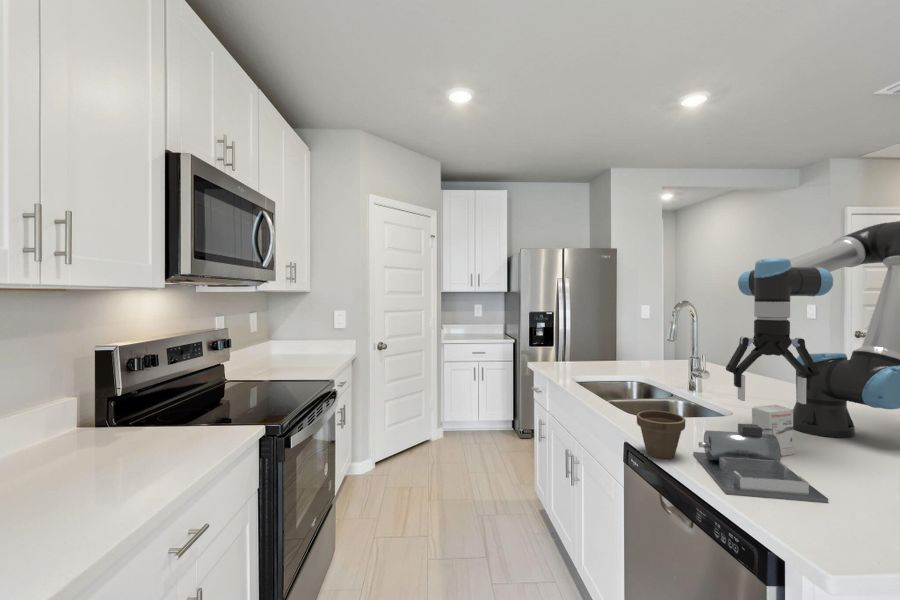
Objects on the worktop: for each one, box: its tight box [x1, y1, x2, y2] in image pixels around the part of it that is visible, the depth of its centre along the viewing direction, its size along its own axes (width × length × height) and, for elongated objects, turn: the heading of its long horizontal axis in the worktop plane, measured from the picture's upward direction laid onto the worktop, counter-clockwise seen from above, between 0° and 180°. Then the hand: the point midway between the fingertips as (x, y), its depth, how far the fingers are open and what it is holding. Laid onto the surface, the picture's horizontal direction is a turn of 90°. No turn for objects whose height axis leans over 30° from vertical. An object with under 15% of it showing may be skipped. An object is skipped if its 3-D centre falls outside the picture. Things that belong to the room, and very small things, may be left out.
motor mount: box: [692, 423, 829, 503], centre depth 101 cm, size 18×23×10 cm
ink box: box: [751, 404, 794, 457], centre depth 115 cm, size 9×5×12 cm, turn 106°
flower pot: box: [636, 410, 687, 460], centre depth 115 cm, size 12×11×10 cm
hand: (771, 401), depth 115 cm, fingers open, 13 cm apart
